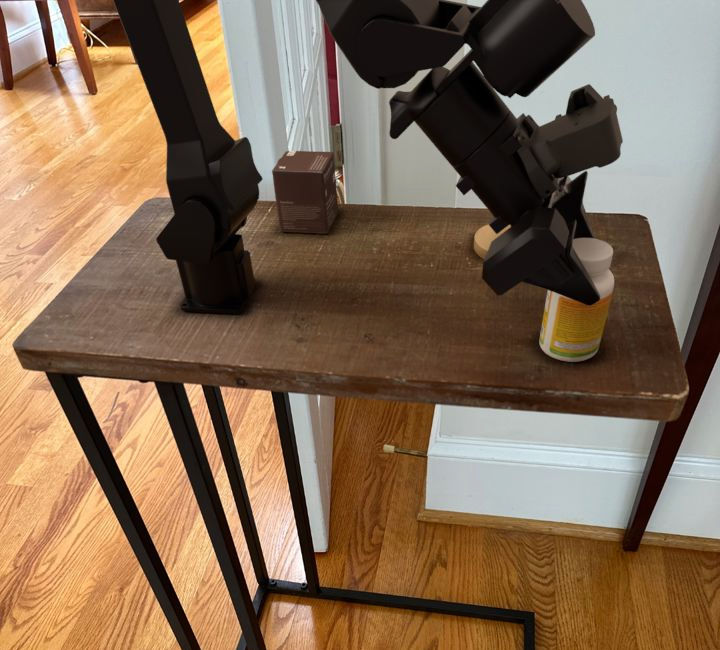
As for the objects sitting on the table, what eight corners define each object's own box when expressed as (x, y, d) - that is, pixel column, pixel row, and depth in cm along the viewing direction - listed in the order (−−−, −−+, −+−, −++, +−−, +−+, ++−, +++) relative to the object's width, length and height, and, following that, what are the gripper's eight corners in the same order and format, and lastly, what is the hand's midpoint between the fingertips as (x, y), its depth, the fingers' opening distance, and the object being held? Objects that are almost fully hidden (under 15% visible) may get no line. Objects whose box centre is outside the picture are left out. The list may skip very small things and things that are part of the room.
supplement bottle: (610, 353, 63) (637, 254, 56) (562, 370, 61) (583, 271, 54) (573, 324, 66) (594, 227, 59) (527, 339, 65) (542, 242, 58)
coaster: (472, 264, 75) (472, 253, 74) (475, 229, 80) (476, 219, 79) (547, 267, 74) (548, 256, 73) (545, 232, 79) (546, 222, 78)
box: (327, 235, 81) (322, 172, 75) (278, 232, 82) (270, 170, 76) (339, 212, 85) (335, 151, 80) (292, 210, 86) (285, 149, 81)
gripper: (551, 104, 42) (690, 289, 47) (582, 24, 54) (689, 178, 59) (422, 217, 49) (554, 365, 54) (475, 124, 61) (578, 253, 67)
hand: (598, 284), depth 58 cm, fingers closed on supplement bottle, 5 cm apart
